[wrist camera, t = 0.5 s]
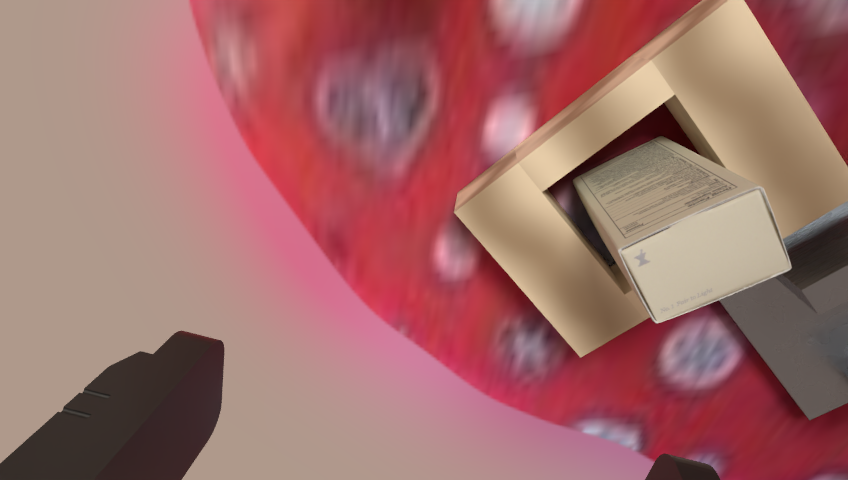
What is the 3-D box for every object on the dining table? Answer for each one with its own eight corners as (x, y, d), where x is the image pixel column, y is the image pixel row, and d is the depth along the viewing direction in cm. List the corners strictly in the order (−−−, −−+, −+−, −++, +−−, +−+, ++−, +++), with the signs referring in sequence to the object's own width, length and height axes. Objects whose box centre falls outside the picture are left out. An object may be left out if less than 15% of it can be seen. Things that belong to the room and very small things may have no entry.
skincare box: (596, 232, 34) (650, 330, 23) (569, 176, 33) (611, 251, 22) (690, 189, 32) (797, 274, 21) (665, 128, 31) (764, 184, 20)
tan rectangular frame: (706, -3, 28) (738, -8, 25) (818, 172, 31) (863, 191, 28) (457, 192, 34) (454, 212, 31) (571, 325, 37) (580, 357, 33)
